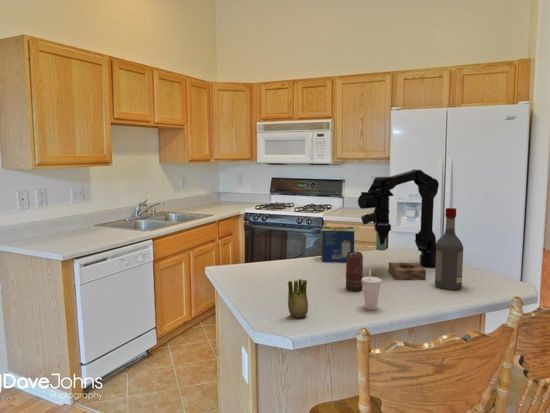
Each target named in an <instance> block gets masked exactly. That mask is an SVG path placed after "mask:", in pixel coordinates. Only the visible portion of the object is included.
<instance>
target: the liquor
mask: <svg viewBox="0 0 550 413" xmlns="http://www.w3.org/2000/svg"><path fill="white" fill-rule="evenodd" d="M445 218H446V219H445V231H444V233H443V234H442V235H441V236H440V238H439V239H437V240H436V267H434V269H435V271H434V285H435V287H436V288H437V289H440V290H447V291H459V290H461V288H462V285H463V264H464V245H463V243H462V241H461V239H460V238H459V237H458V236H457V235H456V230H455V228H456V227H455V226H456V218H457V208H456V207H454V208H453V207H446V208H445Z"/></svg>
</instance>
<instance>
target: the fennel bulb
mask: <svg viewBox="0 0 550 413" xmlns="http://www.w3.org/2000/svg"><path fill="white" fill-rule="evenodd" d="M307 283H308V280H306V279H302V278H298V280H297V279H296V280H294V281H292V280H288V281H287V287H288V296H287V297H288V298H287V307H288V313H289V314H290V316H291V317H294V318H297V319H302V318H305V317H306V316H307V314H308V311H309V301H308V295H307V285H308V284H307Z"/></svg>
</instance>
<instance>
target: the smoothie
mask: <svg viewBox="0 0 550 413" xmlns="http://www.w3.org/2000/svg"><path fill="white" fill-rule="evenodd" d="M371 273H372V266H368V276H363V278H362V283H363V288H362V290H363V297H364V298H363V300H364V308H365V309H366V310H373V311H374V310H377V308H378V301H379V294H380V287H381V285H382V279H381V278H379V277H376V276H372V274H371Z"/></svg>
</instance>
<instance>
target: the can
mask: <svg viewBox="0 0 550 413" xmlns="http://www.w3.org/2000/svg"><path fill="white" fill-rule="evenodd" d="M362 278H364V256H363V253H362V252H361V251H355V250H354V252H348V253H347V255H346V263H345V288H346V290H347V291H350V292H355V293H357V292H361V291H362V290H363V283H362Z"/></svg>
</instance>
